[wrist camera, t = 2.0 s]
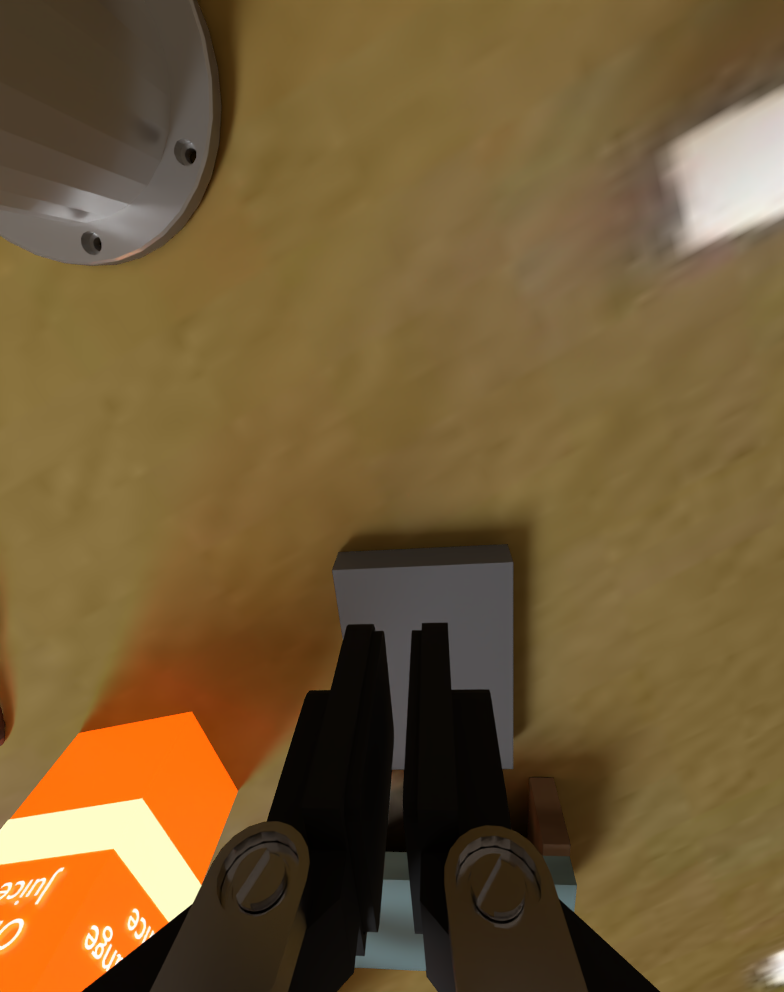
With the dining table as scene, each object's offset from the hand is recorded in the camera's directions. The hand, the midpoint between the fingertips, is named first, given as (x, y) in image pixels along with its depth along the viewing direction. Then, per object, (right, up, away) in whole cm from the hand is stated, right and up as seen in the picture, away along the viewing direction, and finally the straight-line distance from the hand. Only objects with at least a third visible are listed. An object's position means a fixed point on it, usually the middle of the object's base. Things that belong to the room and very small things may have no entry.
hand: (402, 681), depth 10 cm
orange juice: (-16, -14, +24) cm, 32 cm away
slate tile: (+2, -5, +19) cm, 20 cm away
